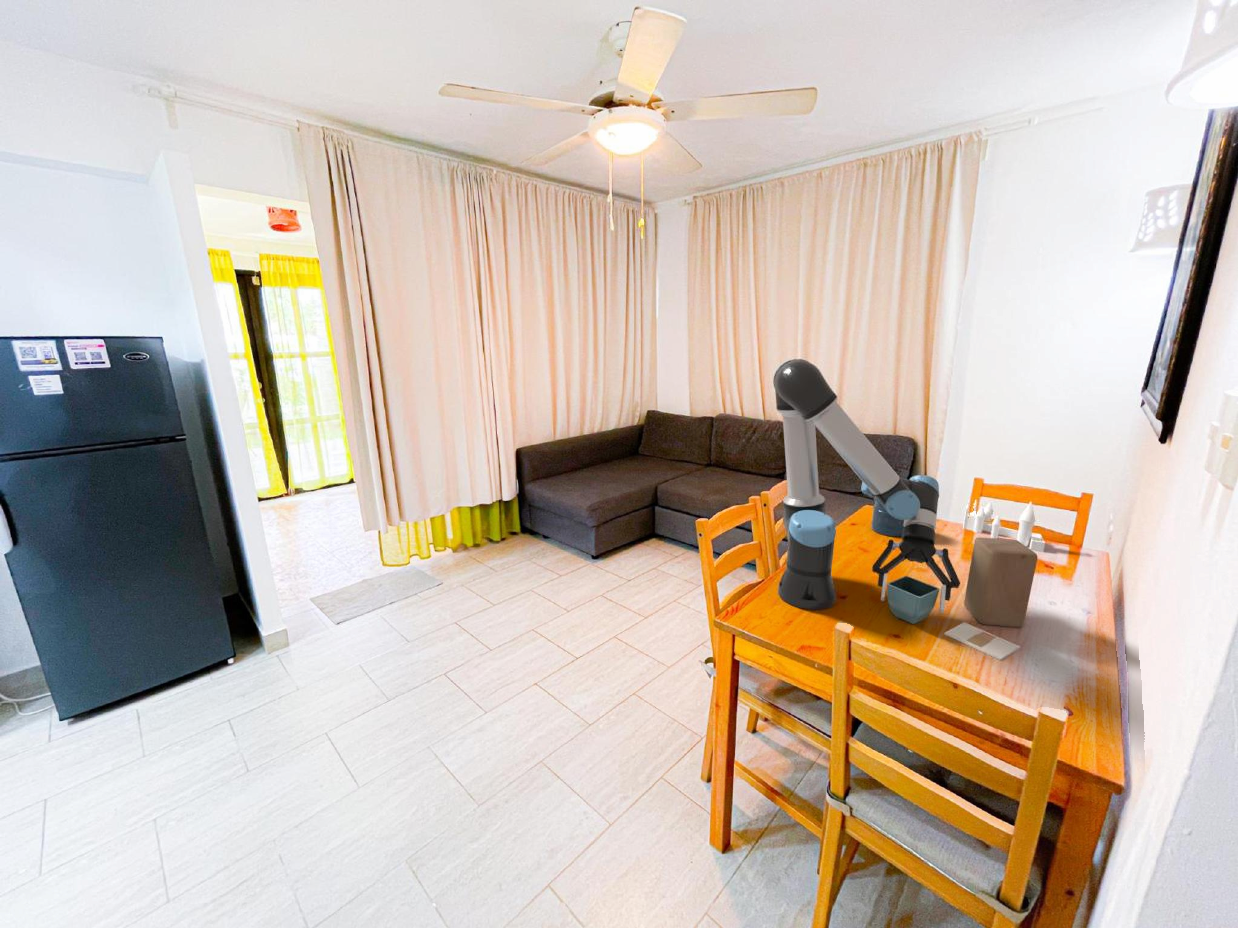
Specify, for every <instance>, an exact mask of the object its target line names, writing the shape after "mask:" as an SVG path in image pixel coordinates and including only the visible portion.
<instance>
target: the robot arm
mask: <svg viewBox="0 0 1238 928" xmlns="http://www.w3.org/2000/svg"><path fill="white" fill-rule="evenodd" d="M772 379H773V380H772V383H773V388H774V391H775V393H774V394H775V405H776V411H777V412H778V413H779V414H780V415H781V416H782V423H783V424H782V426H783V439H784V442H783V443H784V454H785V456H784V457H785V468H786V469H785V470H786V484H787V495H785V496H784V498H783V499H782V501H783V502H782V503H783V506H782V507H783V516H782V521H783V526H784V529H785V532H786V538H787V556H786V557H787V558H786V567H785V569H784V572H783V574H782V575H781V578H780V580H779V583H778V585H777V586H778V588H777V594H778V596H779V598H781V600H783V601H784V602H785V603H787V604H789V605H791V606H794V607H797V608H801V609H806V610H814V611H815V610H816V611H817V610H826V609H829V608H831V607H832V606H834V605H835V603H836V600H837V599H836V597H837V594H836V593H837V592H836V589H835V586H834V581H833V576H832V567H833V557H834V550H835V549H834V548H835V540H836V539H835V538H836V536H837V535H836V534H837V529H836V522H835V520H834V518H832V517H831V516H830V515H829V514H826V513H827V512H826V499H825V497H824V496H823V495H822V494H821V493H820V489H819V487H820V485H819V471H818V470H819V468H818V453H817V452H818V451H817V437H816V435H817V433H816V429H817V430H818V431H819V432H820V433H821V434H822V436H823V437H824V438H825V439H826V440H827V441H828V442H829V444H830V445H831V446H832V447H833V448H834V450H835V451H836V452H837V453H838V455H839V456H840V457H841V458H842V459H843V460H844V461H845V463H846V464H847V465H848V466H849V468H851V470H852V471H853V472H854V473H855V474H856V475H857V477H858V478H859V479H860V481H862V482H861V493H862V494H864V495H866V496H868V497H870V498H877V499H878V501H879V502H880V503H881V504H882V505H883V506H884V508H885V509H886V511H887V512H888V513H889V514H890V515H891V516H893V517H894V518H896V519H900V520H904V528H903V534H902V537H901V542H896V541H894V540H893V539H889V540H888V542H887V546H886V547H885V549H884V550H883V552H881V554H880V555H879V557H878V558H876V559H877V560H876V561H875V562H874V563H873V564H872V566H871V567H872V568H871V571H872V572H873V573H876V574H877V575H878V580H877V587H880V588H881V596H880V601H882V602H884V601H885V597H886V590H887V578H888V573H889V572H890V571H892V570H893V569H894V568H895V567H897V566H898V565H900V564H901V563H902V562H903V563H904V561H905V560H907V561H908V562H912V563H913V562H917V563H919V564H926V565H927V567H928V568H930V569H931V571H932V573H933V574H934V576H936V578H937V579H938V581H940V584H942V585H941V587H940V596H939V609H938V610H939V611H938V612H939V614H942V615H943V614H944V612H945V605H946V601H947V602H949V601H950V599H951V593H952V592H951V591H952V589H958V588H959V587H960V585H961V581H960V578H959V577H958V575H957V572H956V570H955V568H954V566H953V564H952V562H951V560H950V557H949V549H948V548H945V547H944V548H943V549H938V548H936V547H935V541H936V540H935V539H936V530H937V529H936V528H937V517H938V516H937V514H938V505H939V497H940V484H939V482H938V480H937V479H935V478H934V477H933V476H929V475H922V474H921V475H920V474H918V475H914V476H912V477H910V478H909V479H906V478H903V477H900V475H898V473H897V472H896V471H895V470H894V469H893V468H892V466H891V465H890V464H889V463H888V461H887V460H886V459H885V458H884V457H883V456H882V454H881V453H880V452H879V451H878V450H877V448H876V447H875V446H874V445H873V444H872V443H871V441H870V440H869V439H868V438H867V437H866V435H865V434H864V433H863V431H861V429H860V428H859V427H858V426H857V425H856V424H855V422H854V421H853V420H852V418H851V417H850V416H849V415H848V414H847V413H846V411H844V409H843V408H842V407H841V406H840V404H838V396H837V394H836V393H835V392H834V391H833V389H832V388H831V387H830V385H829V384H828V381H827V380H826V379H825V377H824V375H823V374H822V372H821V371H820V369H819V368H818V367H817V366H816V365H815V364H813V363H811V361H808V360H805V359H802V358H794V359H790V360H787V361H785V362H783V363H781V365H779V367H778V368H777V369H776V371H775V372H774V375H773V378H772ZM897 548H899V550H900V551H901V552H900V553H899V554H898V555H897V556H895V557H894V558H892V559H891V560H890V561H889V562H888V563H886V564H885V565H884V566H883V564H884V563H885V561H886V560H887V558H889V556H890V555H891V553H892V551H895V550H896V549H897ZM935 555H937V557H938V558H939V559H941V562H942V564H943V568H944V569H945V570H946V571H945V572H946V573H947V575H946V574H945V573H944V571H943V570H942V569H941V568H940V566H939V564H938V563H937V562H936V561H935V559H934V558H933V557H934V556H935ZM882 566H883V567H882ZM947 576H948V577H947Z"/></svg>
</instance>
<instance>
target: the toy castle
mask: <svg viewBox="0 0 1238 928" xmlns="http://www.w3.org/2000/svg"><path fill="white" fill-rule="evenodd" d="M974 502H975V503H973V505H974V506H973V507H972V509H973V508H974V511H973V510H972V511H973V512H972V511H971V512H970V513H969V511H970V506H969V503H967V505H966V507H965V513H964V518H963V523H962V529H964V530H967V531H973V532H974V533H975V534H982V533H983V532H987V533H990V538H996V539H999V535H1000V536H1004V537H1007V538H1010V539H1011V538H1012V539H1014V540H1017V541H1019V542H1020V543H1022V544H1023V545H1025V546H1026V547H1027V548H1029V549H1030V550H1032V551H1033V552H1034V551H1035V552H1041V553H1044V551H1045V546H1046V542H1045V540H1044V538H1043V536H1042V534H1040V533H1036V532H1033V526H1035V522H1036V518H1035V513H1034V508H1033V503H1032V501H1030V502H1029V503H1028V504H1027V506H1026V507H1025V509H1024V510H1023V512H1022V513H1021V515H1020V517H1019V518H1018V519H1019V520H1018V523H1019V525H1018V530H1017V529H1012V528H1008V527H1005V526H1001V525H1002V524H1001V519H1000V516H999V513H998V514H997V515H996V517H995V518H994V520H993V521H992V516H993V513H994V509H993V506H992V504H991V501H989V502H988V504H986V506H985V507H983V505H981V507H979V510H978V511H977V506H978V504H977V503H978V502H977V499H975V501H974ZM976 511H977V514H976ZM969 514H970V515H969ZM968 517H969V518H968ZM984 521H990V522H984ZM991 521H992V522H991Z"/></svg>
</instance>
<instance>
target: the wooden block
mask: <svg viewBox="0 0 1238 928" xmlns="http://www.w3.org/2000/svg"><path fill="white" fill-rule="evenodd" d="M1038 559H1039V558H1038V554H1037V553H1036V551H1035V552H1034V550H1030V548H1029V547H1026V546H1025V545H1023V544H1022V543H1020V542H1019V541H1017V539H1014V538H1012V539H1011V538H997V539H996V538H991V537H975V539H974V542H973V549H972V553H971V560H970V566H969V572H968V578H967V581H966V582H967V584H966V587H965V594H964V600H963V604H964V607H965V608H966V609H967V610H968V612H970V614H971V615H972V616H973V617H974V618H975V620H976V621H977V622H978V623H980V624H982V625H989V626H990V625H991V626H1001V627H1011V628H1012V627H1013V628H1023V627H1024V625H1025V621H1026V615H1027V611H1028V606H1029V602H1030V601H1029V600H1030V597H1031V596H1030V595H1031V591H1032V588H1033V582H1034V577H1035V572H1036V567H1037V563H1038Z"/></svg>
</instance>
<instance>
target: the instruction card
mask: <svg viewBox="0 0 1238 928" xmlns="http://www.w3.org/2000/svg"><path fill="white" fill-rule="evenodd" d="M944 636H947V637H950V638H952V639H953V640H956V641H959V642H960V643H963V644H964V645H967V646H969V647H971V648H973V649H975V650H978V651H980V652H982V653H984V654H985V655H988V656H990V657H993V658H994V659H996V660H999V661H1002V660H1003V659H1005V658H1006V657H1008V656H1010V655H1012V653H1014V652H1016V651H1017V650H1019V649H1020V648H1021V646H1020V645H1017V644H1015V643H1013V642H1010V641H1008V640H1006V639H1004V638H1001V637H1000V636H997V635H994V634H993V633H990V632H988V631H985V630H983V629H980V628H979V627H976V626H974V625H972V624H969V623H967V622H961V623H960V624H958V625H957V626H954V627H953V628H950V629H949V630H947V631H945V632H944Z"/></svg>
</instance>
